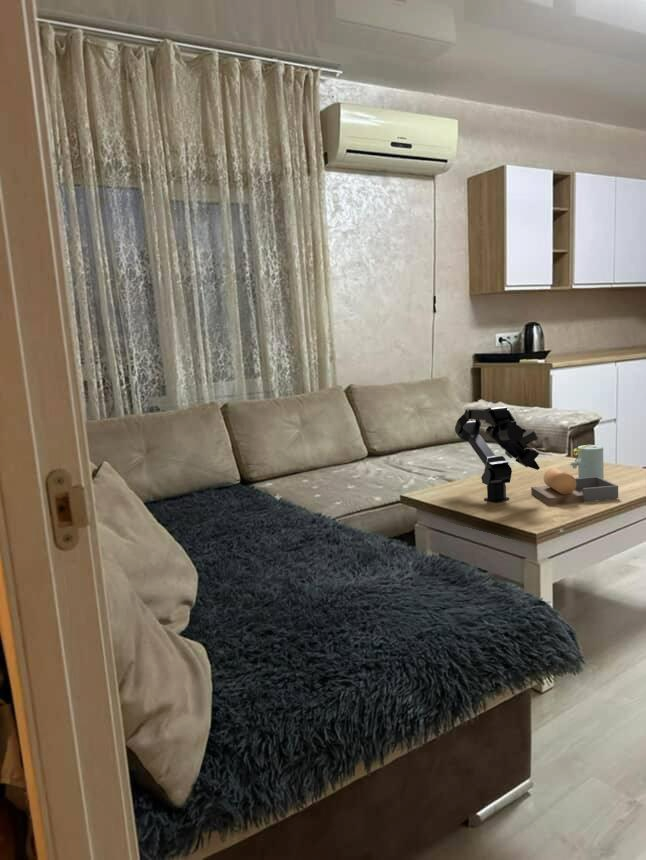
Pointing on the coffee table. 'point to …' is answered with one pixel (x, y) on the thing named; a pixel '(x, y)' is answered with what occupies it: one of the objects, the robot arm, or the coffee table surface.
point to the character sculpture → (589, 461)
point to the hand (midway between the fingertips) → (538, 468)
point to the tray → (596, 489)
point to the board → (556, 496)
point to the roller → (560, 481)
